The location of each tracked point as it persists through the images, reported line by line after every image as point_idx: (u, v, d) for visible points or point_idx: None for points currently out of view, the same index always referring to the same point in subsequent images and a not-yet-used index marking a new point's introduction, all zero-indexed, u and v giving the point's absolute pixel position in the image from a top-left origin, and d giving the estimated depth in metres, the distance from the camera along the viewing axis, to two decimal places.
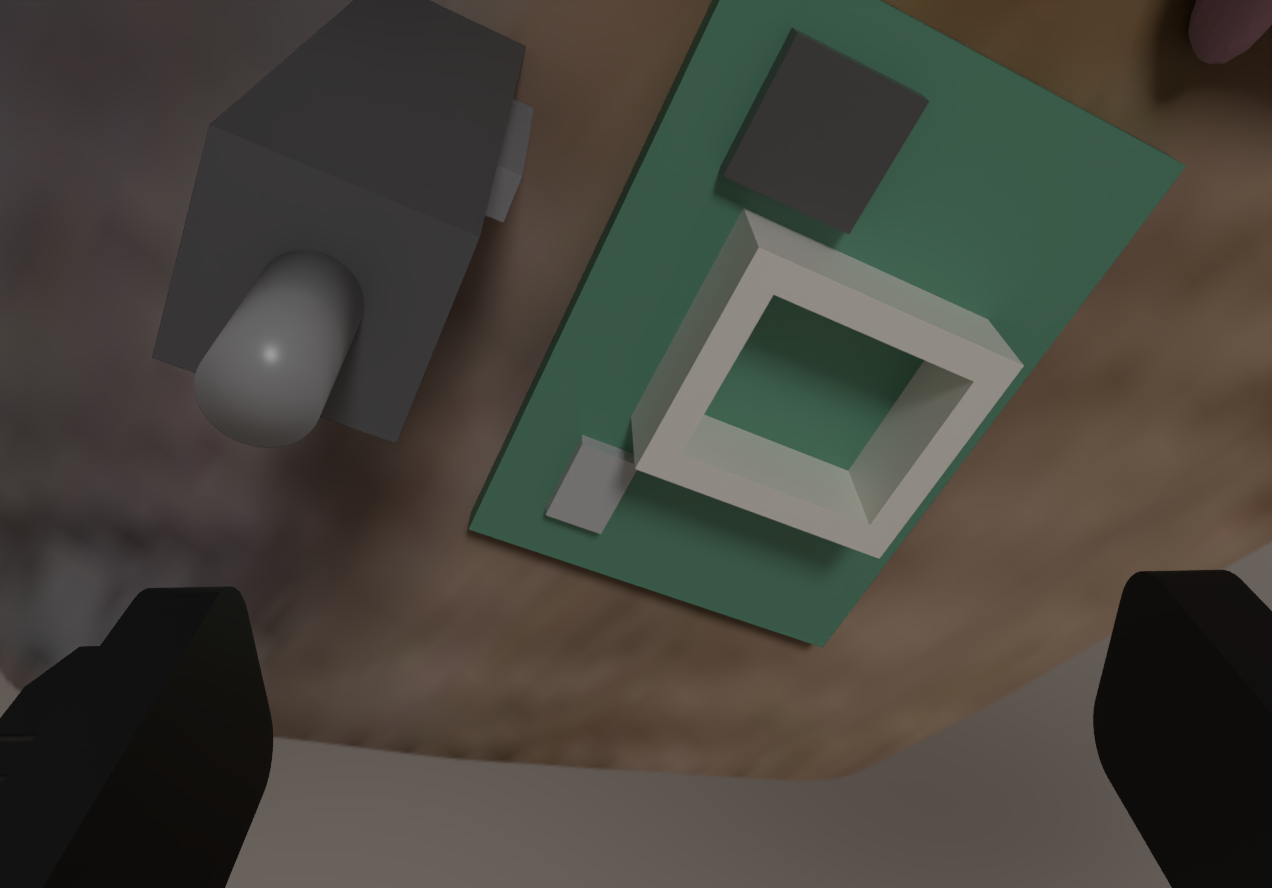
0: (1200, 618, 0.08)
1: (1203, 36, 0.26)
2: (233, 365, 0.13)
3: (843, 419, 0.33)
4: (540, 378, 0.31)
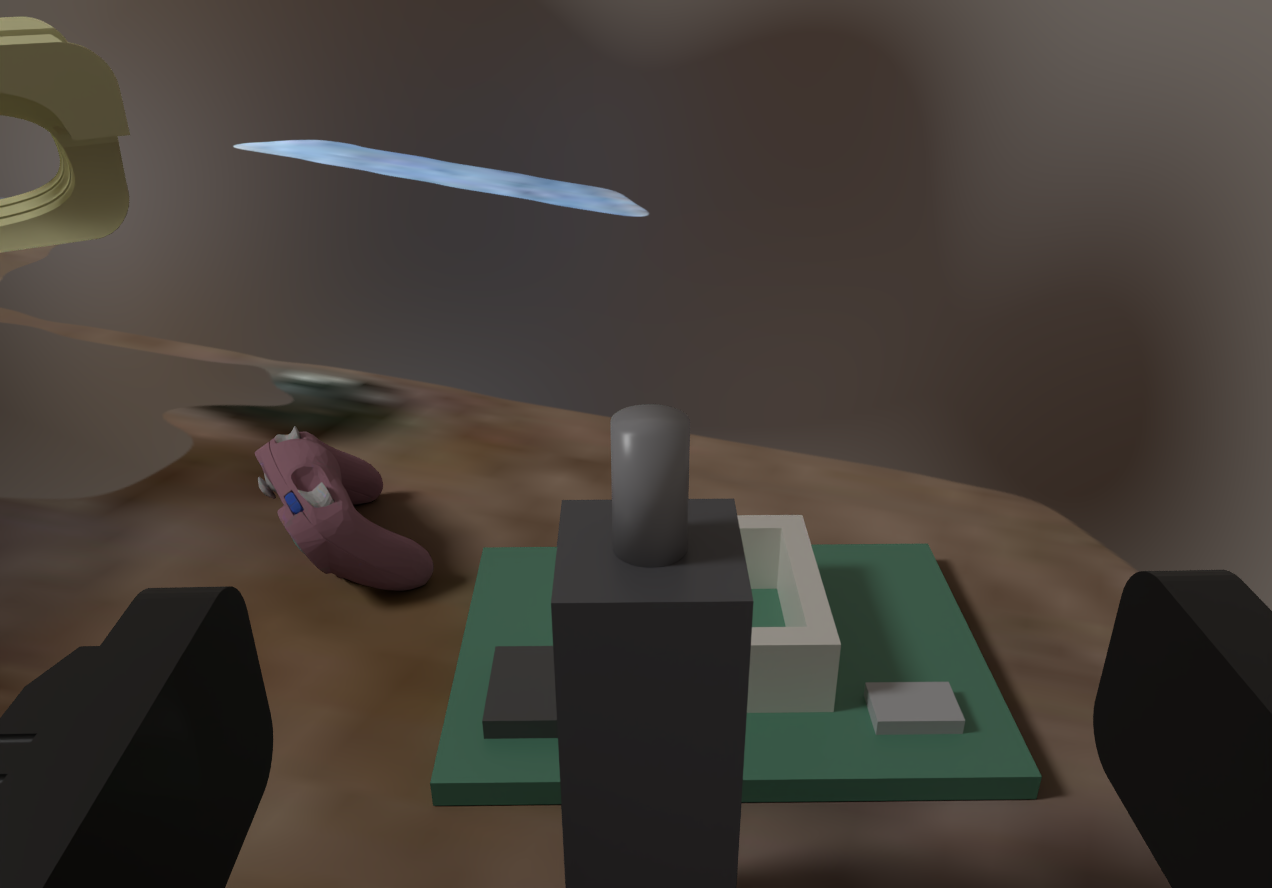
0: (1200, 618, 0.08)
1: (418, 566, 0.44)
2: (635, 430, 0.20)
3: None
4: (848, 779, 0.33)
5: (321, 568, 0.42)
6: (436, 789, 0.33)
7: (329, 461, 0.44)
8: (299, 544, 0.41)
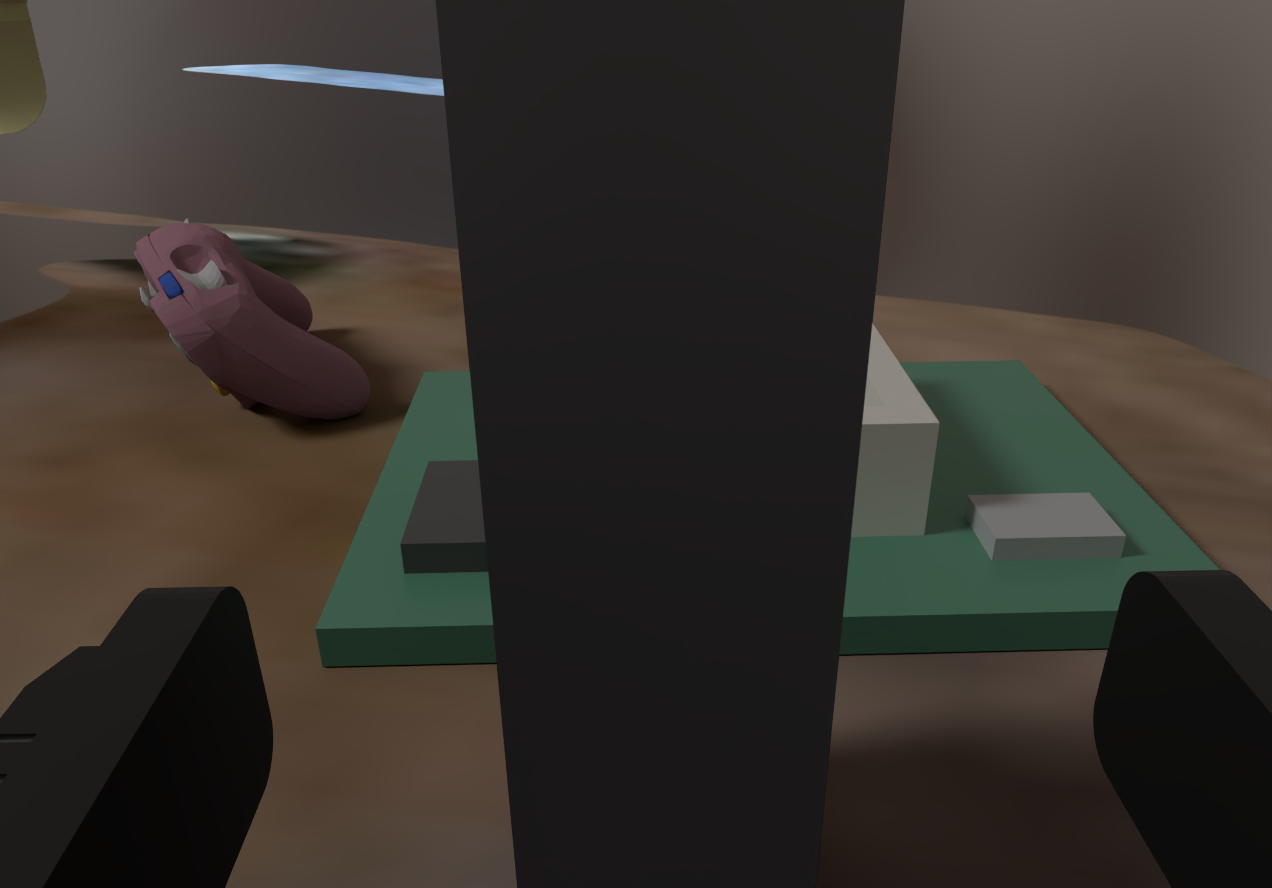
0: (1201, 618, 0.08)
1: (348, 384, 0.32)
2: None
3: None
4: (960, 614, 0.22)
5: (210, 375, 0.30)
6: (325, 639, 0.21)
7: (226, 244, 0.32)
8: (177, 337, 0.29)
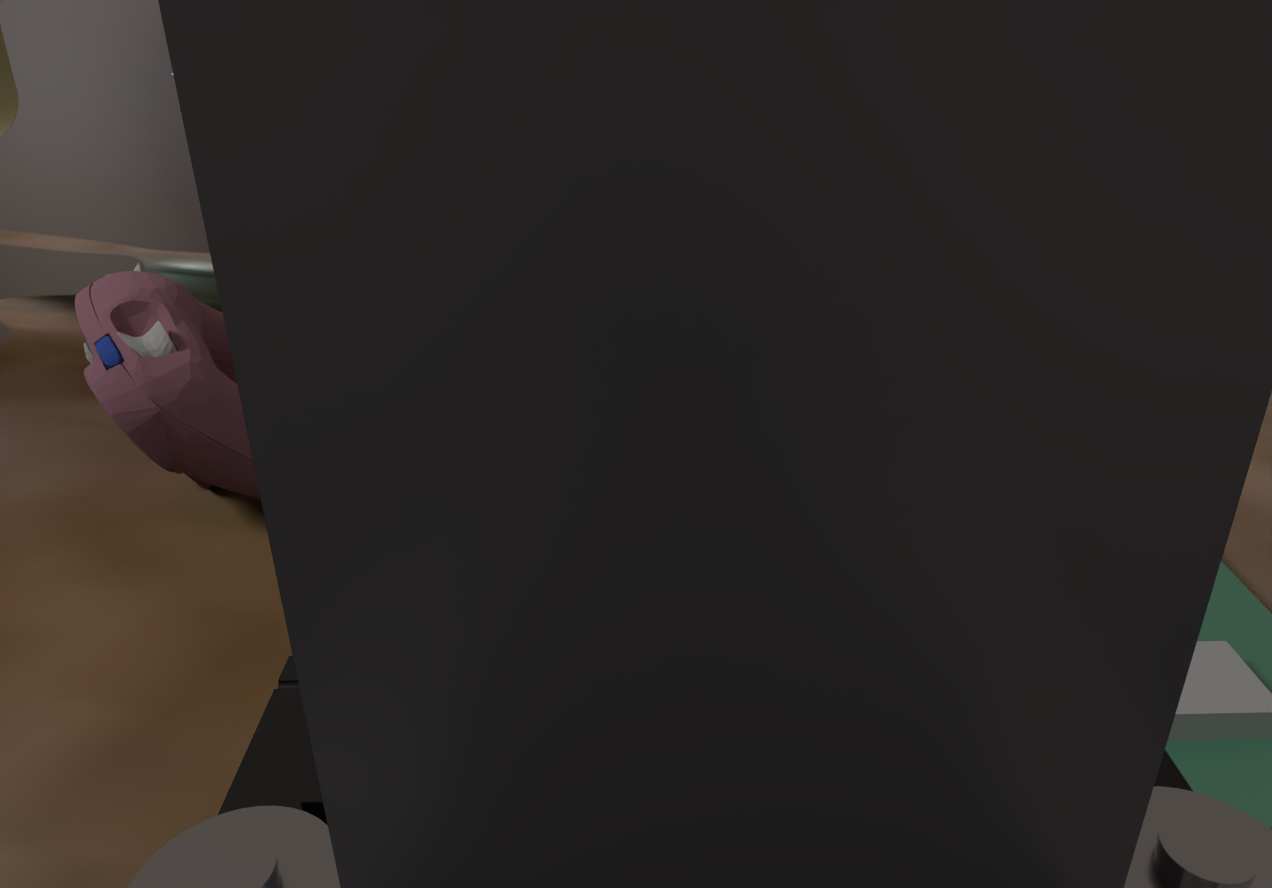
0: None
1: None
2: None
3: None
4: None
5: (156, 459, 0.25)
6: None
7: (179, 298, 0.28)
8: (114, 416, 0.25)
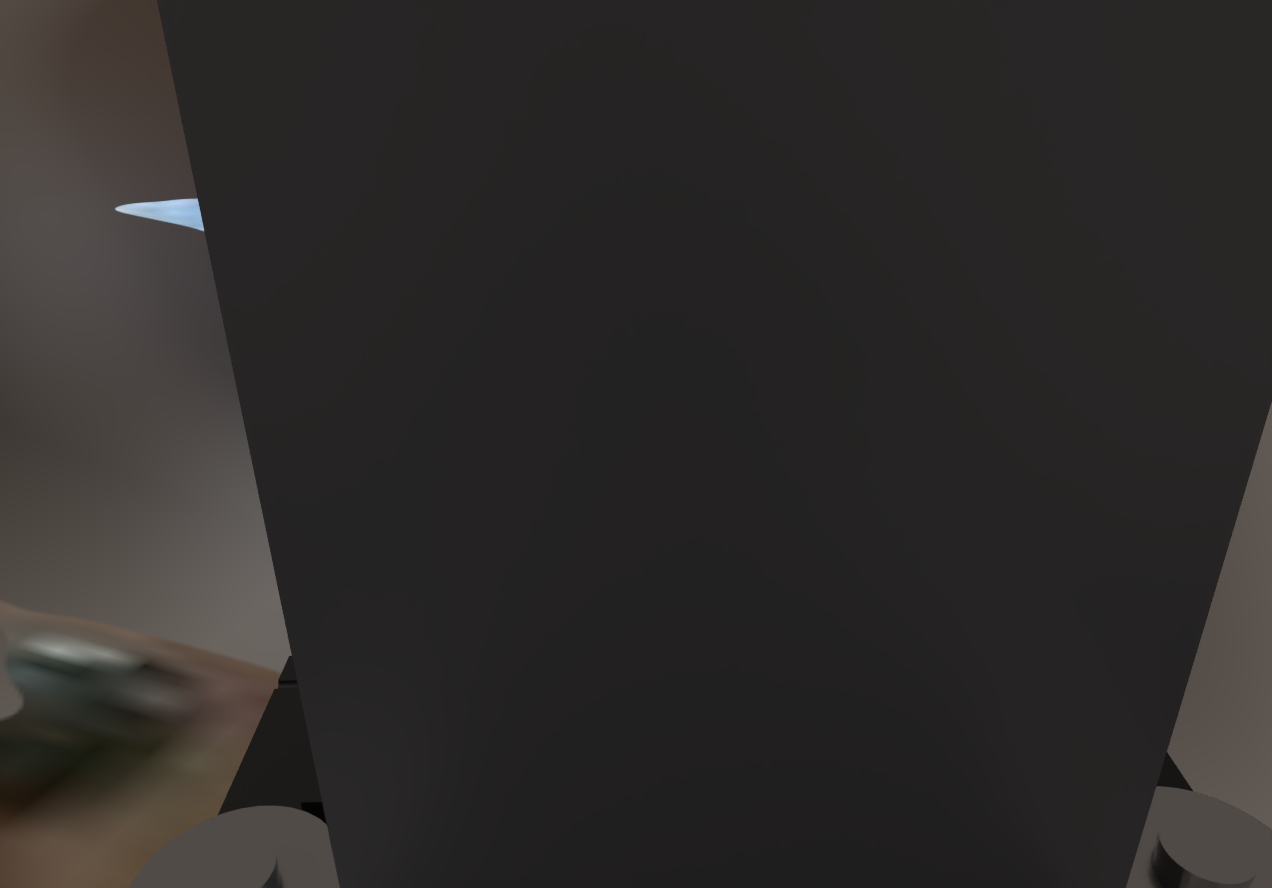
0: None
1: None
2: None
3: None
4: None
5: None
6: None
7: None
8: None
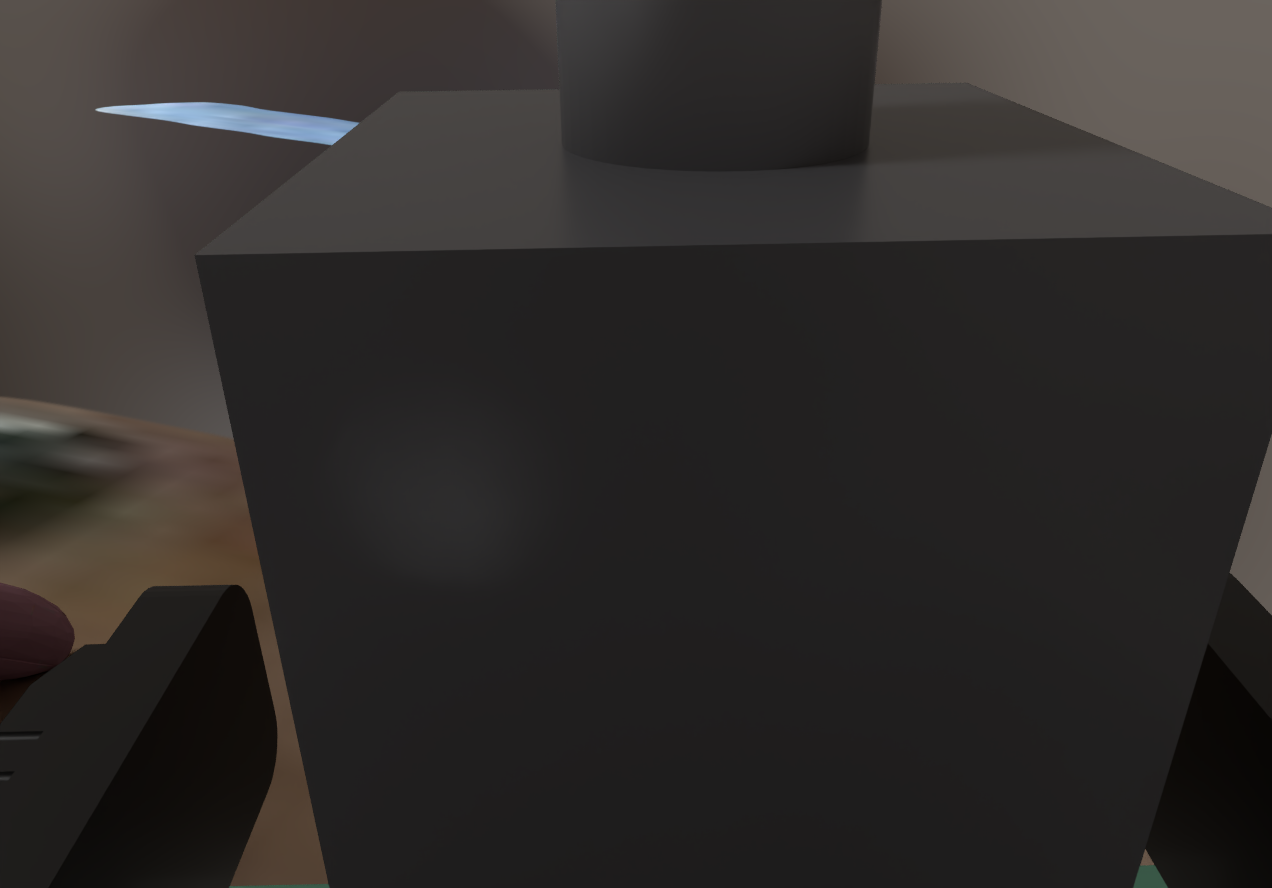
0: None
1: None
2: None
3: None
4: None
5: None
6: None
7: None
8: None
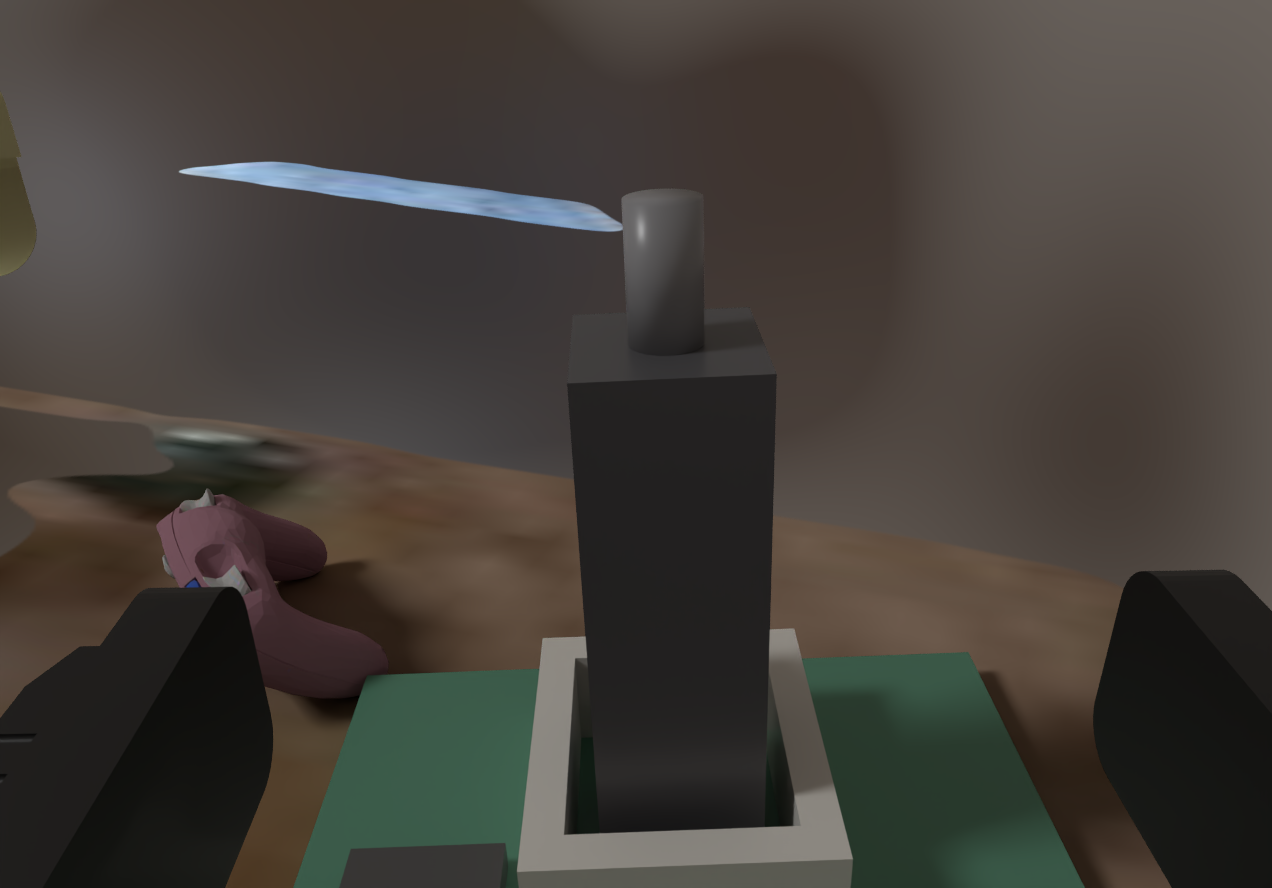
0: (1200, 618, 0.08)
1: (368, 666, 0.34)
2: (647, 202, 0.19)
3: None
4: None
5: None
6: None
7: (247, 535, 0.34)
8: None
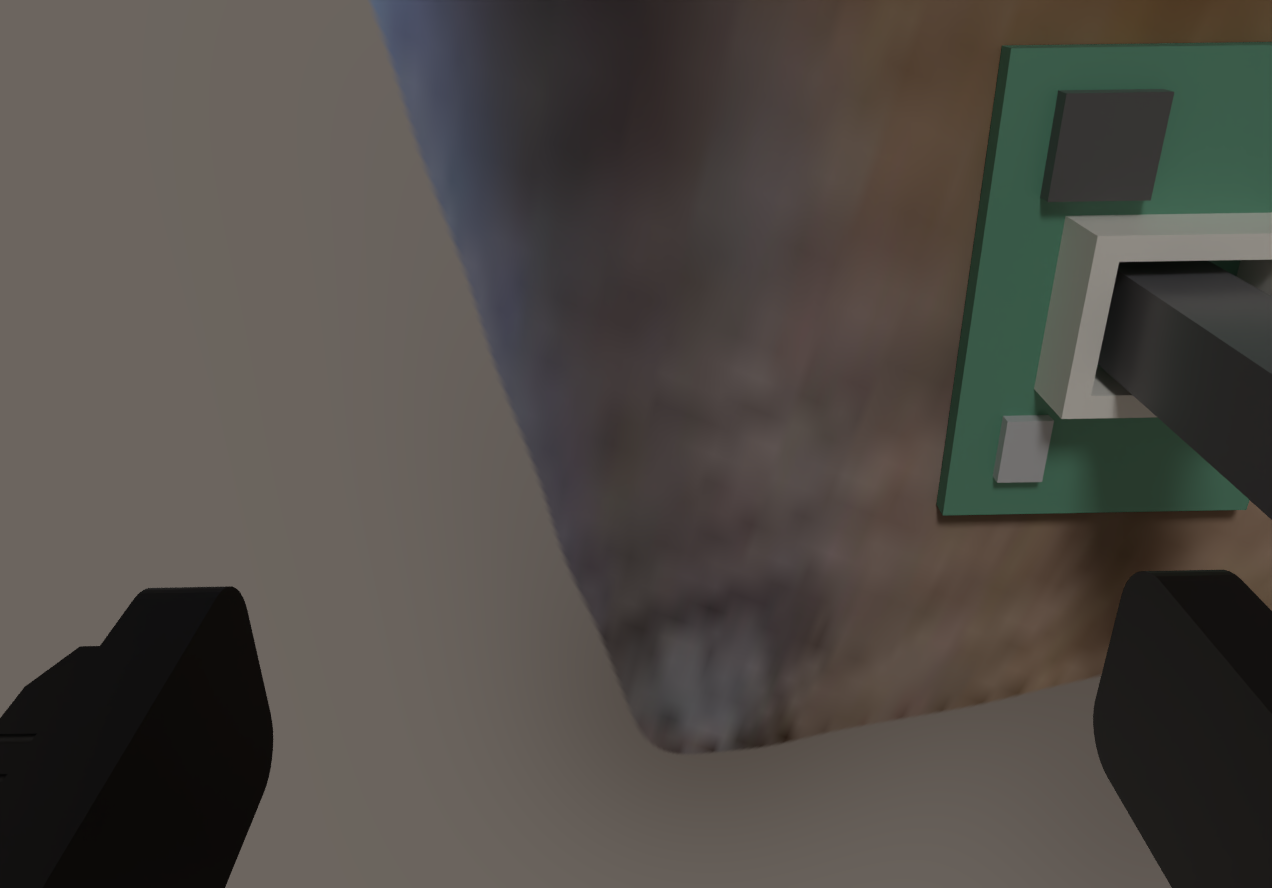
0: (1201, 618, 0.08)
1: None
2: None
3: None
4: (961, 388, 0.43)
5: None
6: (1008, 52, 0.38)
7: None
8: None
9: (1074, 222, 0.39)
